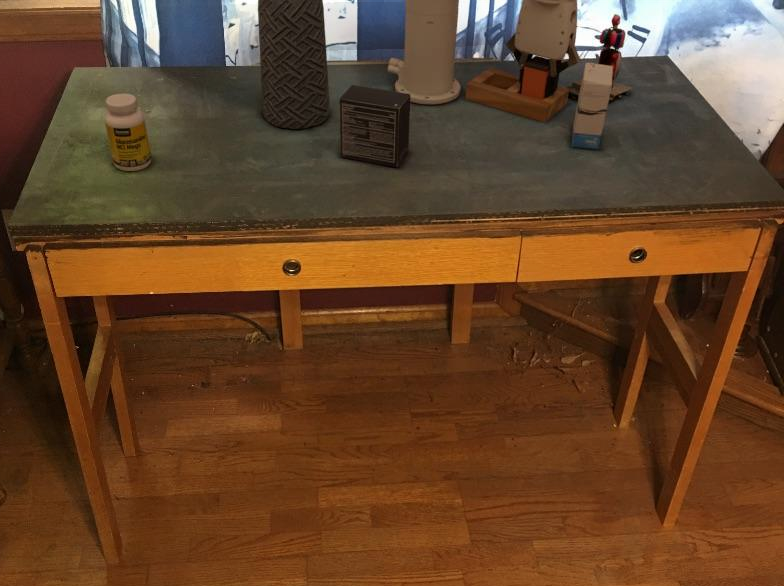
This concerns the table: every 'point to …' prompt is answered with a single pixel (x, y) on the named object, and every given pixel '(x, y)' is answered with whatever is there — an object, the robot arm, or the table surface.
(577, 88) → the statue
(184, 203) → the table surface
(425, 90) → the robot arm
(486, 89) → the wooden compartment tray
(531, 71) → the orange block
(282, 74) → the vase
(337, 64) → the table surface
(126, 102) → the pill bottle
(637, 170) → the table surface
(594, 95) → the ink box
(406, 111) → the small box
